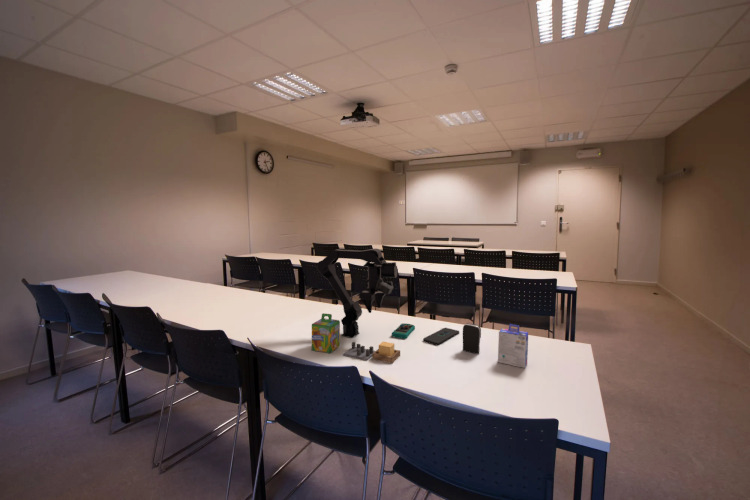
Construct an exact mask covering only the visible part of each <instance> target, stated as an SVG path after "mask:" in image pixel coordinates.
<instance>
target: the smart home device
mask: <svg viewBox="0 0 750 500" xmlns="http://www.w3.org/2000/svg"><path fill="white" fill-rule="evenodd" d="M458 335H460V330H458V329H452V328H448V327H443V328H440V330H438V331H435V332H433V333H432V334H429V335H428V336H425V337H424V338H423V339H422V342H424V343H426V344H430V345H433V346H434V345H435V346H436V347H437V346H440V345H442V344H444V343H446V342H448V341H449V340H451V339H452V338H454V337H456V336H458Z"/></svg>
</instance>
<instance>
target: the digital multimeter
mask: <svg viewBox="0 0 750 500" xmlns="http://www.w3.org/2000/svg"><path fill="white" fill-rule="evenodd" d="M415 329H416V326H415V324H411V323H400V325H398V327H396V329H394V330H393V331H392V332H391V337H392V338H395V339H405V340H407V339H408V337H410V335H411V334H412V333H413V332H414V331H415Z"/></svg>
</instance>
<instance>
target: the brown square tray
mask: <svg viewBox="0 0 750 500" xmlns="http://www.w3.org/2000/svg"><path fill="white" fill-rule="evenodd" d="M374 351H375V352H374V353H373V354H372V357H371V358H372V360H375V361H380V362H384V363H388V364H393V363H394V362H395V361H397V360H398V358H400V357H401V350H399V349H395V348H394V355H393V356H392V357H391V356H386V355H381V354H379V348H378V349H376V350H374Z"/></svg>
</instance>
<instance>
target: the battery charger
mask: <svg viewBox="0 0 750 500" xmlns="http://www.w3.org/2000/svg"><path fill="white" fill-rule="evenodd" d="M481 338H482V328H481V326H480V325H479V324H474V323H469V322H468V323H465V324H464V325H463V326H462V352H463V351H464V352H466V353H471V354H477V355H479V354H480V350H481V349H480V348H481V347H480V344H481Z"/></svg>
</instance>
